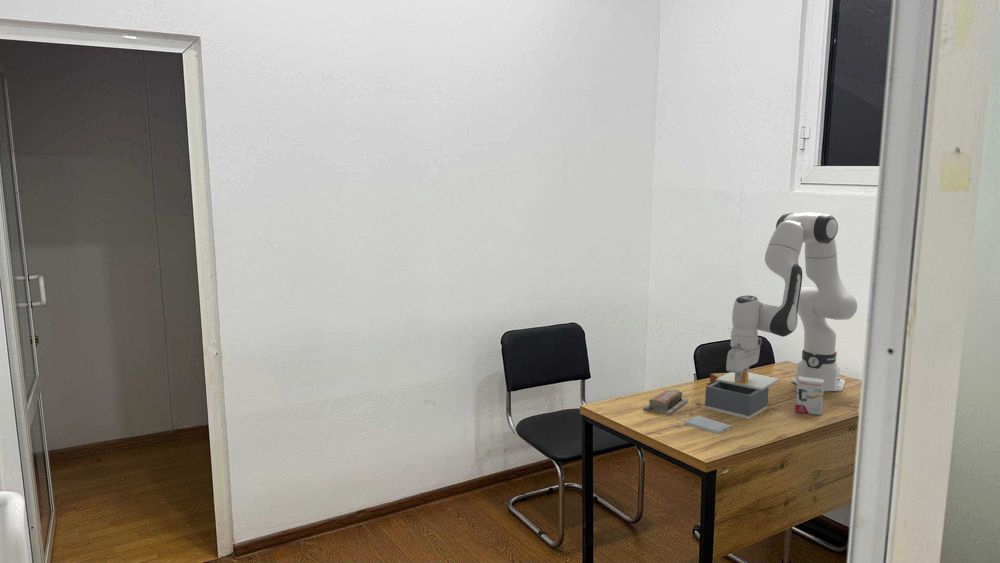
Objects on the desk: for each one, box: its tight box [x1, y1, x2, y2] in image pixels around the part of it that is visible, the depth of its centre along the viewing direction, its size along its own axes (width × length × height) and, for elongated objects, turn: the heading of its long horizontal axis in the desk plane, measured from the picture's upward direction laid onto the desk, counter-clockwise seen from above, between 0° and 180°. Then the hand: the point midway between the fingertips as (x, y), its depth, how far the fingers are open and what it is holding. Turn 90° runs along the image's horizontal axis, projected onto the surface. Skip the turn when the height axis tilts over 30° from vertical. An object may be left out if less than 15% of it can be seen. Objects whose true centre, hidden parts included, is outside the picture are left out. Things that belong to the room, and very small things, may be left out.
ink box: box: [794, 376, 825, 416], centre depth 236 cm, size 9×5×12 cm, turn 67°
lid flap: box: [716, 372, 780, 391], centre depth 245 cm, size 17×17×4 cm
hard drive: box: [684, 415, 733, 435], centre depth 222 cm, size 2×8×12 cm
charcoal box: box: [704, 381, 770, 420], centre depth 240 cm, size 16×16×8 cm
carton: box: [709, 372, 729, 384], centre depth 264 cm, size 8×16×4 cm, turn 12°
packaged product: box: [643, 389, 689, 416], centre depth 242 cm, size 18×5×10 cm
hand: (741, 379), depth 241 cm, fingers closed on lid flap, 2 cm apart
